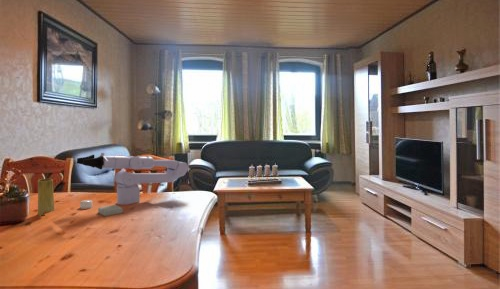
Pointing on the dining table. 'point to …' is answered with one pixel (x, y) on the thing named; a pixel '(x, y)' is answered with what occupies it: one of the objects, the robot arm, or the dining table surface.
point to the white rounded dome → (85, 204)
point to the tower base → (108, 215)
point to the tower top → (110, 210)
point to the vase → (45, 196)
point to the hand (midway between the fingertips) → (80, 161)
